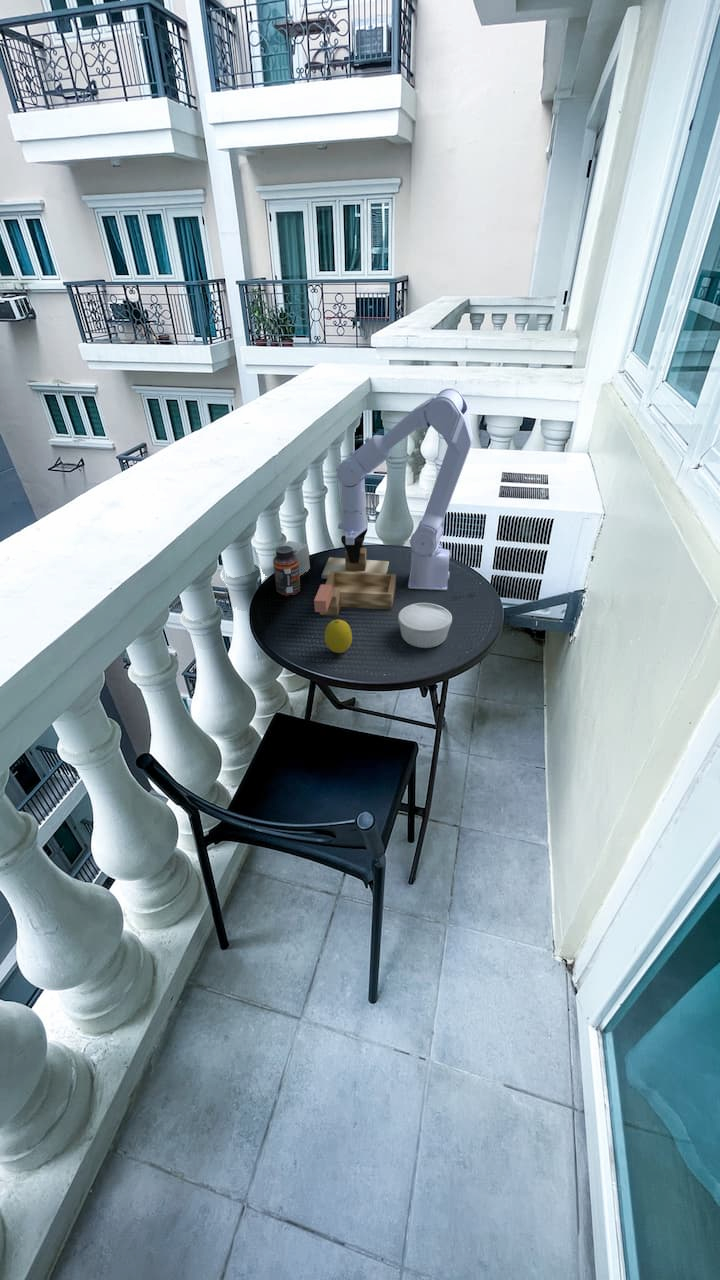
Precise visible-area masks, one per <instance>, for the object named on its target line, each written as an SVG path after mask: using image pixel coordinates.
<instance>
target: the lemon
mask: <svg viewBox="0 0 720 1280" xmlns="http://www.w3.org/2000/svg"><path fill="white" fill-rule="evenodd" d="M352 632H353V631H352V629H351V627H350V625H349V624H348V623H347V621H345V620H342V619H334V620H331V621H330V622H329V623H328V624H327V626H326V628H325V631H324V642H325V645H326V646H327V648H328V649H329V650H330V651H332V652H333V653H337V654H341V653H344V652H346V651H347V650H348V649H349V648H350V647H351V646H352V645H351V644H352V642H353V633H352Z"/></svg>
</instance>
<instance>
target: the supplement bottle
mask: <svg viewBox="0 0 720 1280" xmlns="http://www.w3.org/2000/svg"><path fill="white" fill-rule="evenodd" d="M275 555H276V556H275V557H274V558H273V560H272V563H273V564H272V565H273V572H274V573H273V574H274V580H275V589H276V593H277V592H278V593H280V594H282V595H285V596H284V597H290V596H289V595H293V596H295V595H297V594H299V593H300V591H301V578H300V577H299V566H298V558H297V557H296V556H295V555H294V554H293V548H292V547H290V546H282V545H281V546H279V547H277V548H276V549H275ZM298 592H299V593H298ZM278 593H277V594H278ZM280 594H279V595H280ZM282 595H281V596H282Z"/></svg>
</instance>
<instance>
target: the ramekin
mask: <svg viewBox="0 0 720 1280" xmlns="http://www.w3.org/2000/svg"><path fill="white" fill-rule="evenodd" d="M397 622H398V623H399V629H400V635H401V637H402V639H403V640H404V641H405V642H406V643H407V644H409V645H410V646H411V647H415V648H420V649H431V648H436V647H437V646H439V645H441V644H442V643H444V642H445V640H447V637H448V634H449V630H450V627H451V625H452V622H453V616H452V613H451V612H450V611H449V610H448V609H446V608H445V607H443V606H441V605H438V604H436V603H431V602H430V603H429V602H417V603H412V604H409V605H407V606H405V607H403V608H402V609H400V611H399V612H398V615H397Z"/></svg>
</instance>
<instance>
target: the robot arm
mask: <svg viewBox="0 0 720 1280" xmlns="http://www.w3.org/2000/svg"><path fill="white" fill-rule="evenodd" d="M430 427H432V428H433V429H434V430H435V431H437V433H439V434H440V435H441V436H442V437H443V441H445V443H446V444H447V448H446V451H445V454H444V456H443V459H442V462H441V464H440V468H439V470H438V474H437V477H436V479H435V482H434V485H433V489H432V491H431V494H430V497H429V499H428V501H427V502H428V503H427V505H426V508H425V512H424V514H423V516H422V517H421V520H420V522H419V523H418V526H417V527H416V529H415V531H414V532H413V533H412V535H411V537H410V539H409V543H410V547H411V554H410V556H411V557H410V558H411V559H410V573H409V578H408V583H407V588H408V589H413V590H414V589H415V590H429V591H430V590H431V591H433V590H434V591H435V590H436V591H447V590H448V584H449V583H448V581H449V579H450V571H449V569H450V552H451V550H450V549H446V548H443V546H442V544H441V542H440V539H441V537H443V534H444V531H445V529H444V520H445V517H446V514H447V511H448V508H449V505H450V502H451V500H452V498H453V495H454V492H455V489H456V487H457V485H458V483H459V479H460V477H461V474H462V472H463V467H464V466H465V463H466V460H467V457H468V455H469V453H470V450H471V447H472V445H473V441H474V436H473V431H472V424H471V420H470V415H469V405H468V402H467V401H466V399H465V398H464V396H463V395H462V393H461V392H460V391H459V390H457V389H455V388H450V387H449V388H444V389H443V390H441V391H440V392H438V393H437V395H436V396H432V397H430V398H429V399H427V400H426V401H424V402H423V403H421V404H419V405H417V406H416V407H415V408H414V409H413V410H411V412H409V413H408V414H407V415H405V416H404V418H402V419H401V420H399V422H398V423H397V424H396V425H394V426H393V427H392V428H391V429H390V430H389V431H387V432H386V433H385V434H384V435H379V434H375V435H373V436H371V435H369V436H367V438H365V439H364V443H363V444H362V445H361V446H360V447H359V448H358V449H356V450H354V449H353V450H352V451H350V452H349V456H348V457H346V458H345V460H342V461H341V462H340V464H339V465H338V466H337V469H336V477H337V479H338V481H339V483H340V495H341V496H340V499H341V516H342V517H341V518H342V522H341V523H338V525H337V529H338V530H342V533H343V534H344V535H341V538H340V540H341V543H342V545H343V546H344V549H345V551H347V554H348V558H349V561H350V563H358V562H359V557H360V550H361V548H363V546H364V541H365V538H366V537H365V536H366V534H367V533H368V525H367V520H366V518H367V515H366V509H367V507H366V481H365V480H366V479H365V478H366V476H367V474H370V473H372V472H373V471H374V470H375V469H376V468H378V467H379V466H380V465H381V464H383V463H385V461H386V460H388V459H389V458H390V457H391V455H392V448H393V447H395V446H396V445H397V444H398V443H400V442H401V441H402V440H404V439H405V438H407V437H408V436H409V435H411V434H412V433H413V432H415V431H417V429H423V430H427V429H430Z"/></svg>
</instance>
